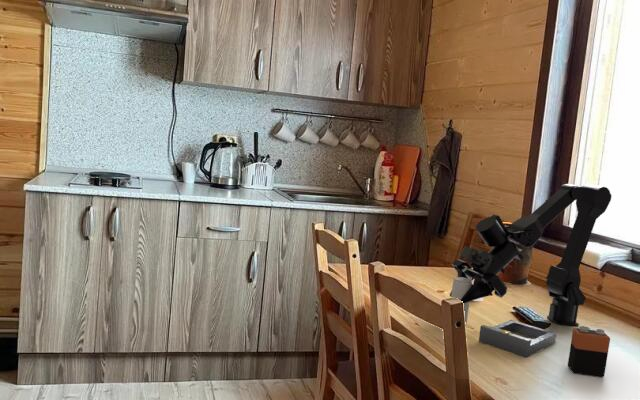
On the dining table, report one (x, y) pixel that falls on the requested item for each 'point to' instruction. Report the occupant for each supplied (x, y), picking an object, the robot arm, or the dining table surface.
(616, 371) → the dining table surface
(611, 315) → the dining table surface
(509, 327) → the grey shallow tray
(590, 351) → the battery
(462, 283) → the beverage can
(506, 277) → the vessel
